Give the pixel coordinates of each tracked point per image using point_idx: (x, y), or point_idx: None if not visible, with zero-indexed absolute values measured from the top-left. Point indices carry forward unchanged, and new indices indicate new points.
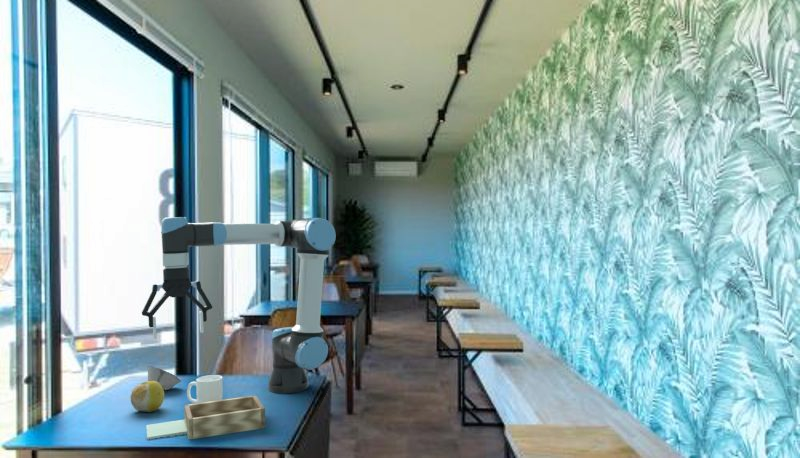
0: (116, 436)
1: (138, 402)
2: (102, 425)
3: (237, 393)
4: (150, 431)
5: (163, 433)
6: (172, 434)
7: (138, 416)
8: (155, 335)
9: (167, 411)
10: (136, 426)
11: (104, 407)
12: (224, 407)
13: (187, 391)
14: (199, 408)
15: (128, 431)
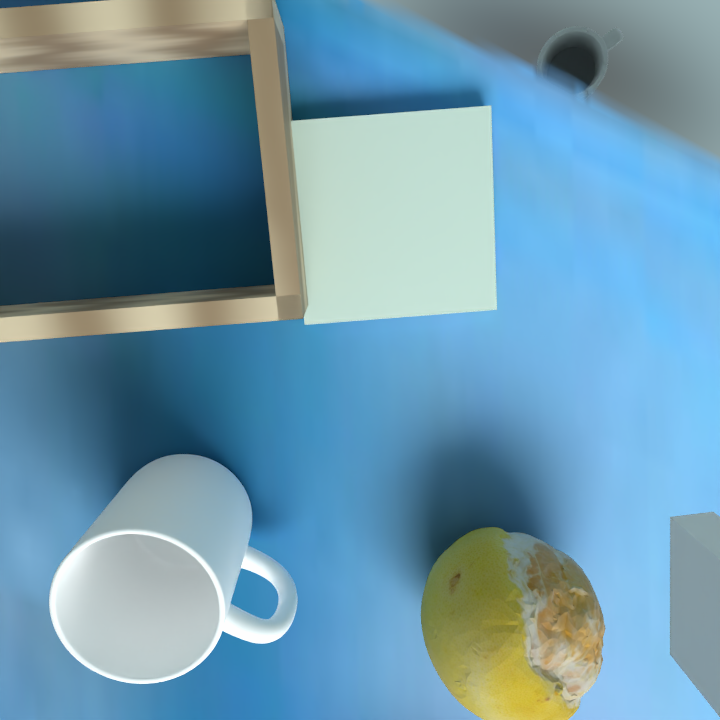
0: (626, 254)
1: (554, 549)
2: (690, 446)
3: (49, 702)
4: (475, 196)
5: (410, 134)
6: (365, 116)
7: (531, 516)
8: (716, 543)
9: (397, 541)
10: (538, 368)
11: (685, 708)
12: (79, 307)
13: (292, 604)
14: (218, 298)
15: (573, 307)
